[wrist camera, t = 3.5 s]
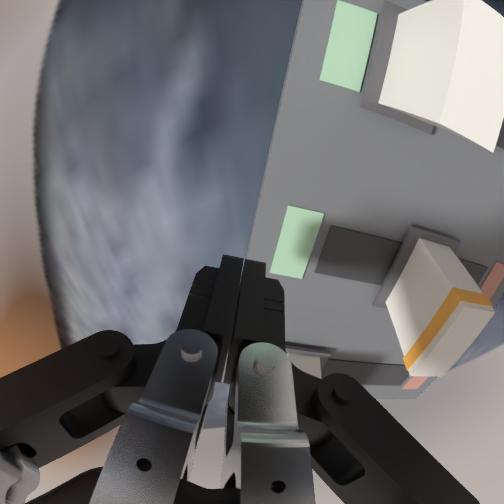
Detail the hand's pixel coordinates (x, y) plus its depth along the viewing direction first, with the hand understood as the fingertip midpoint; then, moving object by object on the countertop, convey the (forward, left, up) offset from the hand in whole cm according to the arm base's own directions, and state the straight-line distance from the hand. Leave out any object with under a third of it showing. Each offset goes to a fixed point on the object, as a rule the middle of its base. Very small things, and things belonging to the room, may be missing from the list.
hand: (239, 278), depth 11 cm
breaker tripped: (-9, 0, -3) cm, 9 cm away
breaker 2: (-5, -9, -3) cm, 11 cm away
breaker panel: (-9, 0, -6) cm, 11 cm away
